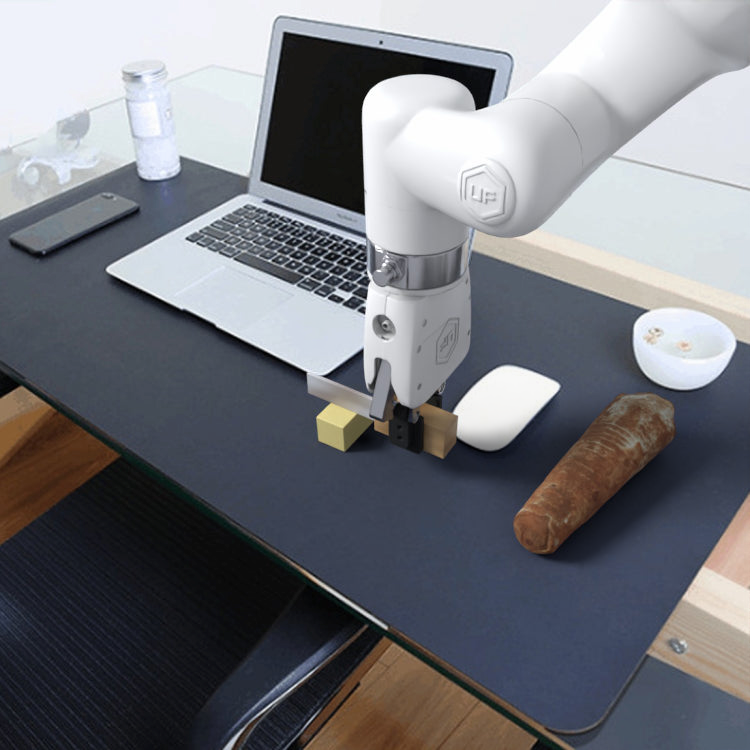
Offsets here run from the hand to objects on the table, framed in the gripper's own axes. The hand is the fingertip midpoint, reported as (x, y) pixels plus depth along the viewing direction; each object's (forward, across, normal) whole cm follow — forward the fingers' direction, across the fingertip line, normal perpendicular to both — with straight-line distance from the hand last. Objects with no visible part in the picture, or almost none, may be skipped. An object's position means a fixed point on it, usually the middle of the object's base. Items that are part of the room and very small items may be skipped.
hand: (415, 435), depth 70 cm
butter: (+3, 0, +8) cm, 8 cm away
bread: (+3, +4, -15) cm, 16 cm away
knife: (0, 0, +4) cm, 4 cm away
